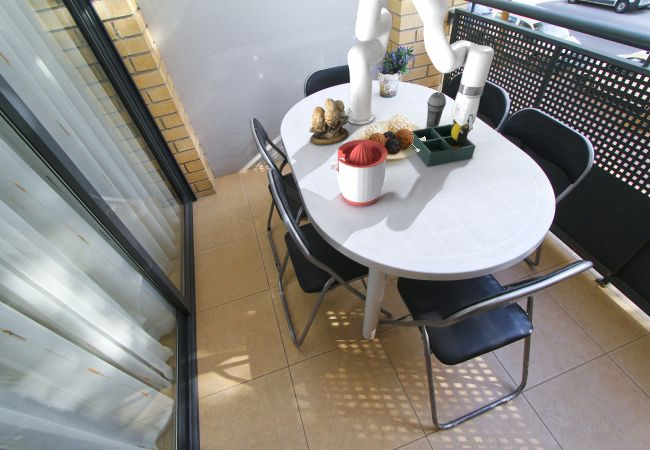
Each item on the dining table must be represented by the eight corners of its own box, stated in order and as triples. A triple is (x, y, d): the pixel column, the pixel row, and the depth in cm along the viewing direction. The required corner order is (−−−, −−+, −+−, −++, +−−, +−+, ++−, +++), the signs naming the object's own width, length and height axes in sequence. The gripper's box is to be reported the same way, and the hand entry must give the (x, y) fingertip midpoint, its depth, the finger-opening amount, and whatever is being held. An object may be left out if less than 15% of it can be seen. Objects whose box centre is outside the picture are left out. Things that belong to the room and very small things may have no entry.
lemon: (456, 146, 116) (462, 126, 110) (446, 139, 119) (450, 119, 113) (468, 142, 117) (474, 121, 111) (457, 135, 121) (462, 115, 115)
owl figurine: (342, 126, 143) (341, 88, 131) (355, 137, 135) (355, 98, 123) (306, 136, 138) (301, 98, 126) (317, 149, 131) (313, 109, 119)
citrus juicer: (332, 182, 114) (330, 131, 100) (381, 181, 113) (385, 129, 98) (332, 211, 103) (329, 159, 89) (386, 210, 101) (391, 156, 87)
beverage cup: (439, 124, 138) (448, 77, 124) (441, 133, 133) (452, 84, 119) (422, 125, 139) (429, 78, 125) (424, 133, 134) (432, 85, 120)
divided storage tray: (428, 166, 117) (430, 154, 113) (408, 142, 130) (410, 131, 126) (471, 158, 119) (475, 145, 115) (448, 135, 132) (451, 123, 128)
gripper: (451, 79, 110) (440, 127, 123) (469, 100, 98) (455, 150, 111) (472, 77, 110) (459, 125, 123) (493, 98, 98) (476, 149, 111)
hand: (458, 137), depth 117 cm, fingers closed on lemon, 5 cm apart
